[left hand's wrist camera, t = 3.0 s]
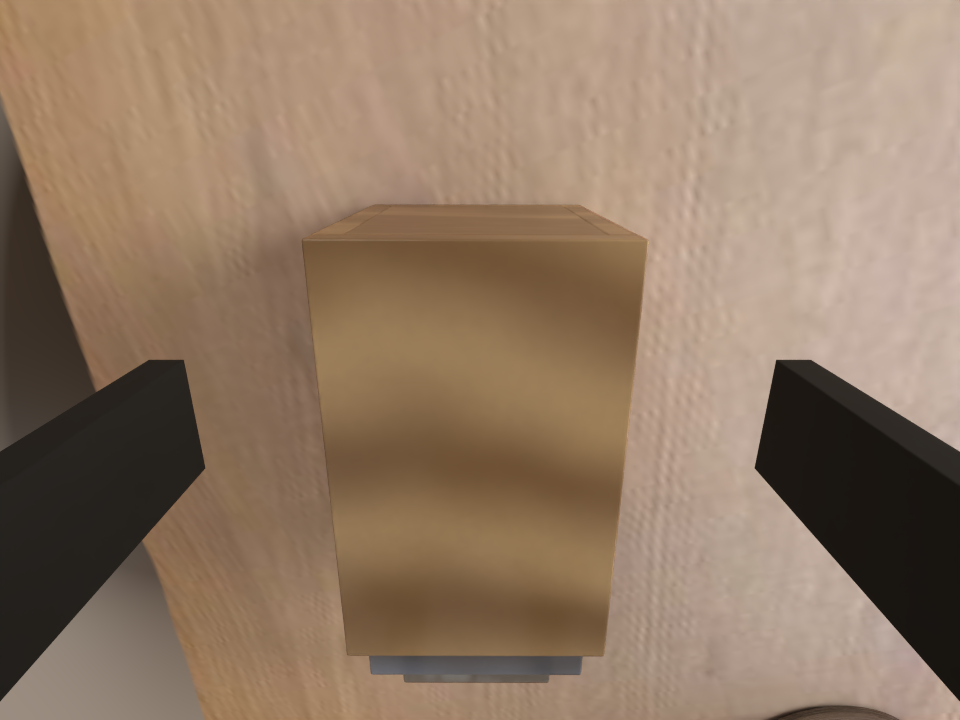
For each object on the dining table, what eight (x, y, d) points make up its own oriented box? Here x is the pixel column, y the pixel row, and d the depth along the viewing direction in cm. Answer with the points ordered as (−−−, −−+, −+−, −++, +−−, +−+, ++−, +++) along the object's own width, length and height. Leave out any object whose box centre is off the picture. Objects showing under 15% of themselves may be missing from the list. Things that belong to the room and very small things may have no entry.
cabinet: (562, 488, 33) (604, 656, 22) (391, 488, 33) (346, 656, 22) (580, 204, 27) (649, 239, 16) (373, 204, 27) (300, 238, 16)
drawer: (548, 609, 35) (572, 770, 26) (405, 608, 35) (379, 770, 26) (567, 279, 27) (611, 341, 18) (386, 278, 27) (340, 341, 18)
